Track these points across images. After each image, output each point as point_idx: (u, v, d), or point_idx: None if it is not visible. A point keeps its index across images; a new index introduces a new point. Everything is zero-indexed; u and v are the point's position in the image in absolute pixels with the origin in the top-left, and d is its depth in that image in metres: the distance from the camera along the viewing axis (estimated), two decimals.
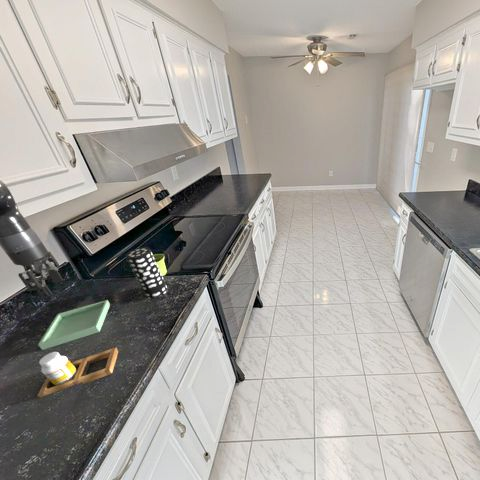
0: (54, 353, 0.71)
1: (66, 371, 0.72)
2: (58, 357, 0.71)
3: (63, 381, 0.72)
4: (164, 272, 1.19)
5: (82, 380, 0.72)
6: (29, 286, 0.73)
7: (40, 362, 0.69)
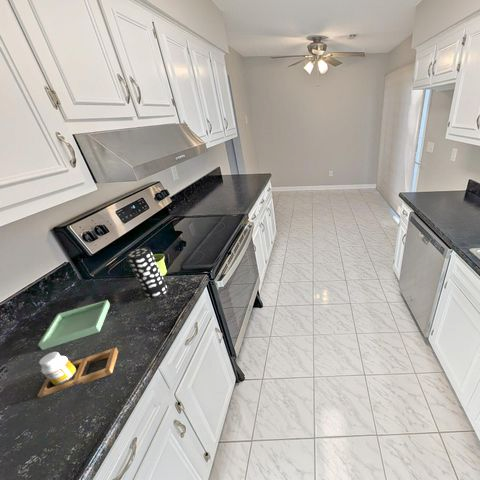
0: (54, 353, 0.71)
1: (66, 371, 0.72)
2: (58, 357, 0.71)
3: (63, 381, 0.72)
4: (164, 272, 1.19)
5: (82, 380, 0.72)
6: None
7: (40, 362, 0.69)
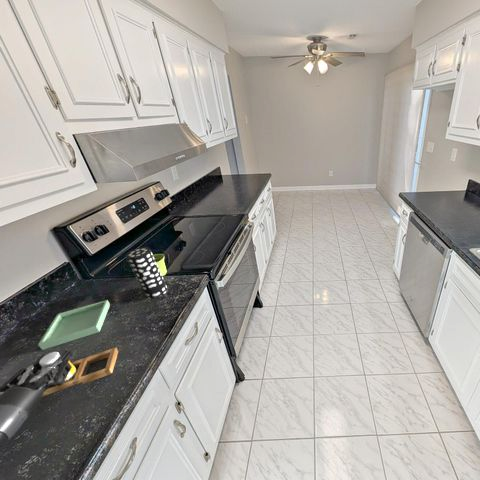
0: (54, 353, 0.71)
1: None
2: (58, 357, 0.71)
3: None
4: (164, 272, 1.19)
5: (82, 380, 0.72)
6: None
7: (40, 362, 0.69)
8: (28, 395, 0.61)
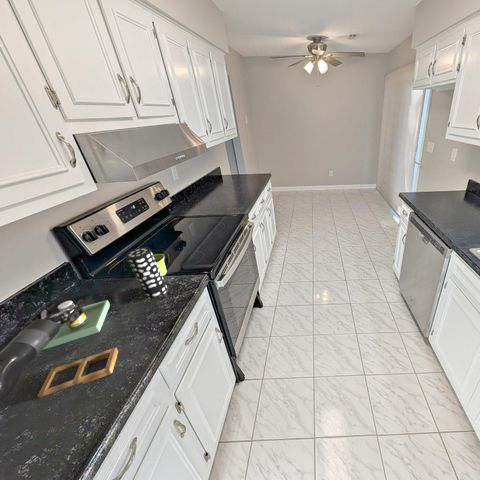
0: (69, 301, 0.90)
1: None
2: (72, 304, 0.90)
3: (76, 324, 0.91)
4: (164, 272, 1.19)
5: (82, 380, 0.72)
6: None
7: (58, 307, 0.88)
8: (50, 325, 0.80)
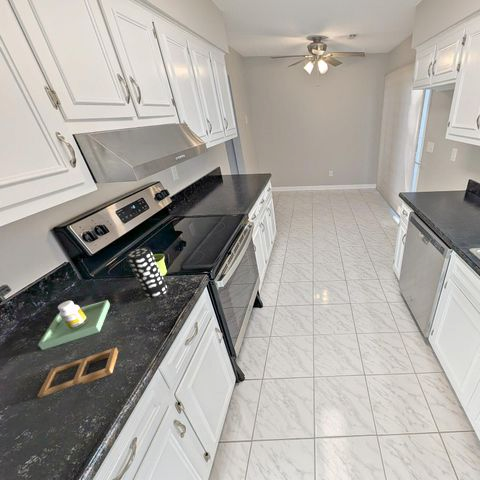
0: (69, 301, 0.90)
1: (78, 316, 0.91)
2: (72, 304, 0.90)
3: (76, 324, 0.91)
4: (164, 272, 1.19)
5: (82, 380, 0.72)
6: None
7: (58, 307, 0.88)
8: None
